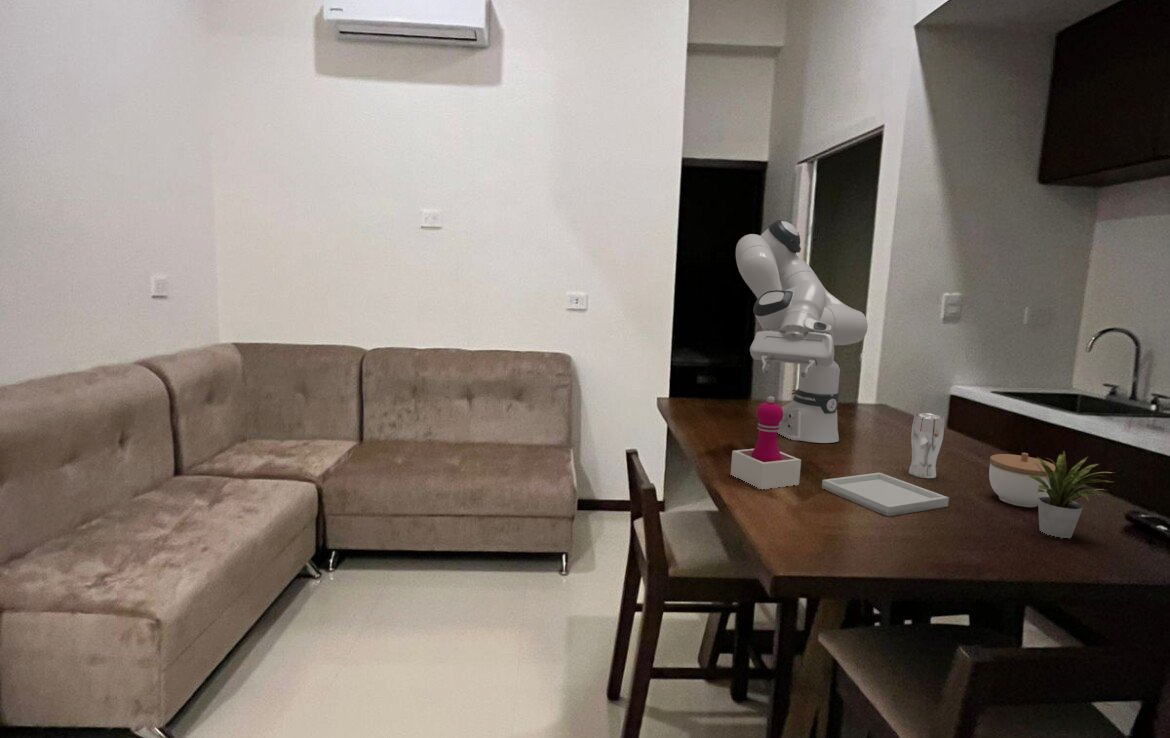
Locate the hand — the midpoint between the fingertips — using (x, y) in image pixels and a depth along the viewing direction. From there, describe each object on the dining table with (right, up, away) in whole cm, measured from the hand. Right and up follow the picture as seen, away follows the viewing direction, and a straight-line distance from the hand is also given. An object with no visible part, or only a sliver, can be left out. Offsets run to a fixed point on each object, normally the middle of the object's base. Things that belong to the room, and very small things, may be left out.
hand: (784, 373), depth 159 cm
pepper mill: (-7, -25, -7) cm, 27 cm away
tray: (+17, -27, -16) cm, 36 cm away
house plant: (+42, -31, -34) cm, 62 cm away
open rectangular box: (-7, -25, -7) cm, 27 cm away
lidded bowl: (+47, -29, -15) cm, 57 cm away
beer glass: (+35, -25, +2) cm, 43 cm away
